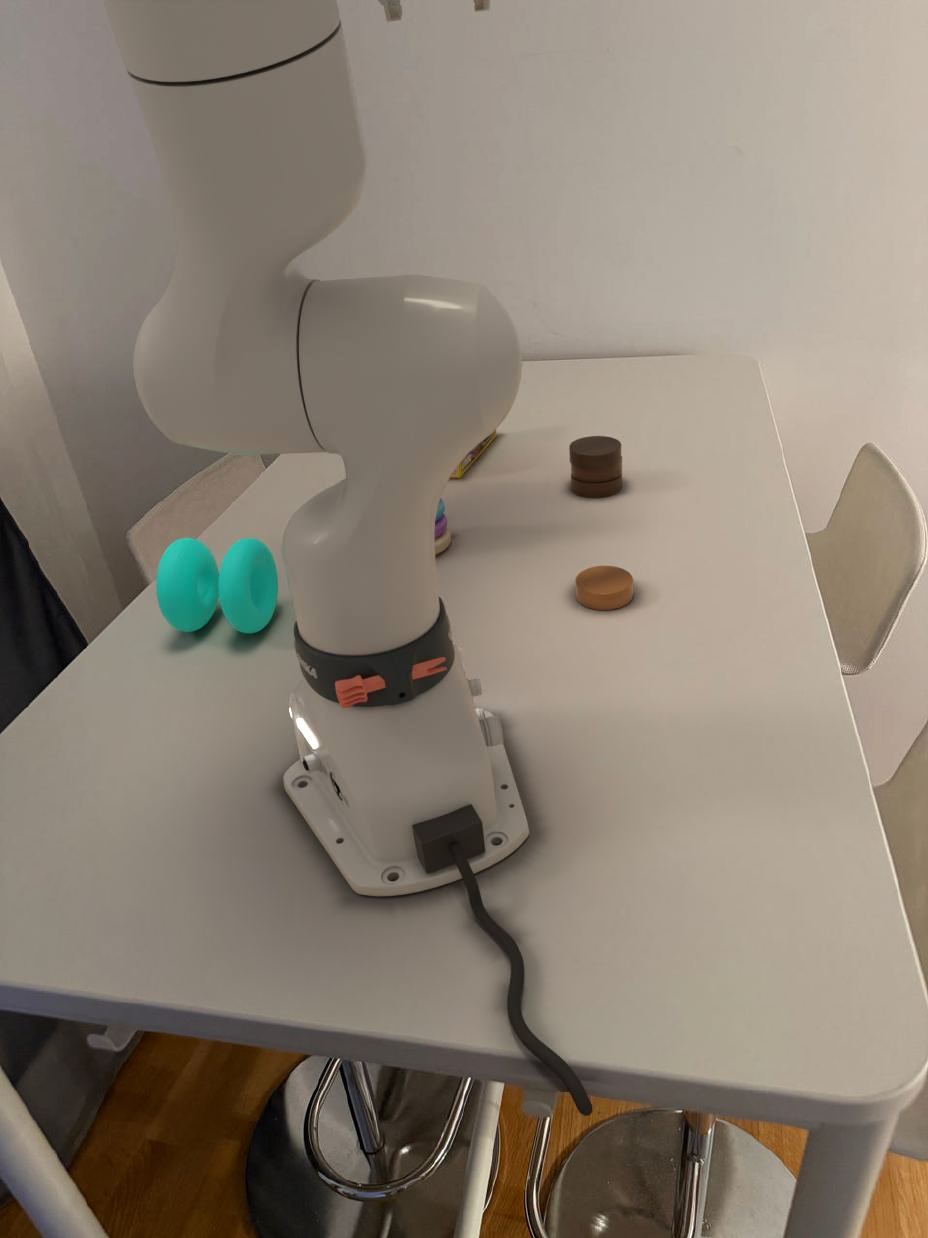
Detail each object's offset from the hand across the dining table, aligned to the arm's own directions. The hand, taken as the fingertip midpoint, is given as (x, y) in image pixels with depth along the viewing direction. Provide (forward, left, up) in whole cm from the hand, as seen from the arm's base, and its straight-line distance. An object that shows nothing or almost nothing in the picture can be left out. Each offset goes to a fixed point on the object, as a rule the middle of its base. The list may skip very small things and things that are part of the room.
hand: (438, 13), depth 96 cm
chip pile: (-9, -13, -54) cm, 56 cm away
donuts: (-20, +37, -54) cm, 68 cm away
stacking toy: (-13, +13, -54) cm, 57 cm away
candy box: (+10, -3, -54) cm, 55 cm away
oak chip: (-34, -1, -54) cm, 64 cm away
